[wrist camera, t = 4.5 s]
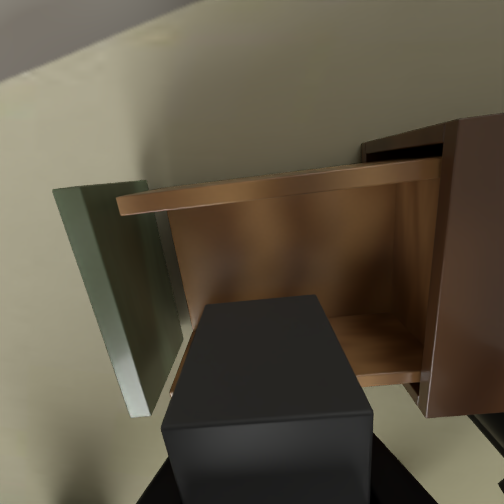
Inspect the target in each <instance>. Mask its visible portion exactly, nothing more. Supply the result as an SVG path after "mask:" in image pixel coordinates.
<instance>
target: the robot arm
mask: <svg viewBox="0 0 504 504" xmlns="http://www.w3.org/2000/svg"><path fill="white" fill-rule="evenodd" d="M467 416H468V417H469V418H470V419H471V420H472V421H473V423H474V424H475V425H476V426H477V427H478V428H479V430H480V431H481V432H482V433H483V434H484V435H485V437H486V438H487V439H488V440H489V441H490V442H491V443H492V445H493V446H494V447H495V448H496V449H497V450H498V452H499V453H500V454H501V455H502V456H503V457H504V412H500V413H487V414H474V415H467ZM498 485H499V487H500V488H501V490H502V492H503V493H504V479H503V480H501V481H500V482H499V483H498ZM136 504H182V500H181V497H180V493H179V490H178V487H177V483H176V480H175V476H174V473H173V469H172V466H171V463H170V459H169V456H168V458H167V459H166V461H165V462H164V463H163V465H162V466H161V468H160V469H159V471H158V472H157V474H156V475H155V477H154V478H153V480H152V481H151V482H150V484H149V485H148V487H147V488H146V490H145V491H144V493H143V494H142V496H141V497H140V498H139V500H138V501H137V503H136ZM370 504H438V503H437V502H436V501H435V500H434V499H433V497H432V496H431V495H430V494H429V493H428V492H427V491H426V490H425V489H424V488H423V486H422V485H421V484H420V483H419V482H418V481H417V480H416V479H415V478H414V477H413V476H412V474H411V473H410V472H409V471H408V470H407V469H406V468H405V467H404V466H403V465H402V464H401V462H400V461H399V460H398V459H397V458H396V457H395V456H394V455H393V454H392V453H391V451H390V450H389V449H388V448H387V447H386V446H385V445H384V444H383V443H382V442H381V441H380V439H379V438H378V437H377V436H376V435H375V434H374V433H373V438H372V461H371V485H370Z"/></svg>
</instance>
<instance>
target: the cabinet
mask: <svg viewBox="0 0 504 504" xmlns="http://www.w3.org/2000/svg"><path fill="white" fill-rule="evenodd" d="M432 155H442V164H441V174H440V185H439V195H438V205H437V215H436V225H435V236H434V246H433V256H432V266H431V277H430V287H429V297H428V307H427V317H426V328H425V338H424V348H423V358H422V369H421V379H420V382H416V383H404V384H403V386H404V387H405V389H406V390H407V392H408V393H409V394H410V396H411V397H412V399H413V400H414V402H415V403H416V405H417V406H418V407H419V409H420V410H421V412H422V413H423V415H424V416H425V418H436V417H449V416H461V415H474V414H487V413H500V412H504V113H498V114H490V115H483V116H475V117H467V118H460V119H456V120H452V121H448V122H444V123H440V124H436V125H432V126H428V127H424V128H420V129H416V130H412V131H408V132H404V133H400V134H396V135H392V136H388V137H384V138H380V139H376V140H372V141H368V142H365V143H362V154H361V163H366V162H374V161H382V160H390V159H398V158H408V157H420V156H432Z"/></svg>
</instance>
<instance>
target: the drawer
mask: <svg viewBox="0 0 504 504" xmlns="http://www.w3.org/2000/svg"><path fill="white" fill-rule="evenodd" d="M441 164H442V155H432V156H420V157H408V158H398V159H390V160H382V161H374V162H366V163H358V164H350V165H342V166H334V167H326V168H318V169H310V170H301V171H293V172H285V173H277V174H269V175H261V176H253V177H245V178H237V179H229V180H221V181H213V182H205V183H196V184H188V185H180V186H172V187H165V188H160V189H155V190H149V189H148V185H147V181H146V180H140V181H129V182H118V183H107V184H95V185H84V186H75V187H67V188H59V189H53V190H52V192H53V195H54V198H55V201H56V204H57V206H58V209H59V212H60V215H61V218H62V221H63V224H64V227H65V230H66V233H67V235H68V238H69V241H70V244H71V247H72V250H73V253H74V256H75V259H76V262H77V264H78V267H79V270H80V273H81V276H82V279H83V282H84V285H85V288H86V290H87V293H88V296H89V299H90V302H91V305H92V308H93V311H94V314H95V317H96V319H97V322H98V325H99V328H100V331H101V334H102V337H103V340H104V343H105V346H106V348H107V351H108V354H109V357H110V360H111V363H112V366H113V369H114V372H115V375H116V377H117V380H118V383H119V386H120V389H121V392H122V395H123V398H124V401H125V403H126V406H127V409H128V412H129V415H130V417H131V418H133V417H146V416H151V415H152V413H153V411H154V408H155V406H156V403H157V401H158V399H159V396H160V394H161V392H162V389H163V387H164V384H165V382H166V380H167V377H168V375H169V373H170V370H171V368H172V365H173V363H174V361H175V358H176V356H177V354H178V351H179V349H180V347H181V344H182V342H183V334H182V330H181V326H180V322H179V317H178V313H177V309H176V304H175V300H174V296H173V292H172V287H171V283H170V279H169V275H168V270H167V266H166V262H165V257H164V253H163V249H162V245H161V240H160V236H159V232H158V228H157V223H156V219H155V215H154V212H160V211H167V214H168V219H169V224H170V228H171V233H172V237H173V242H174V246H175V251H176V255H177V260H178V265H179V269H180V274H181V278H182V283H183V287H184V292H185V297H186V301H187V306H188V310H189V315H190V319H191V324H192V329H193V332H192V335H191V337H190V340H189V342H188V345H187V348H186V350H185V353H184V355H183V358H182V361H181V363H180V366H179V368H178V371H177V374H176V376H175V379H174V381H173V384H172V387H171V389H170V397H172V395H173V392H174V389H175V386H176V384H177V381H178V378H179V376H180V373H181V370H182V367H183V365H184V362H185V359H186V356H187V354H188V351H189V348H190V346H191V343H192V340H193V337H194V335H195V332H196V329H197V326H198V324H199V321H200V318H201V316H202V313H203V310H204V307H205V305H207V304H216V303H227V302H237V301H248V300H259V299H269V298H280V297H291V296H301V295H312V294H315V295H316V296H317V298H318V300H319V302H320V304H321V306H322V308H323V310H324V312H325V314H326V316H327V318H328V320H329V322H330V324H331V326H332V328H333V330H334V332H335V334H336V336H337V338H338V340H339V343H340V345H341V347H342V349H343V351H344V353H345V355H346V357H347V359H348V361H349V363H350V365H351V367H352V369H353V371H354V373H355V375H356V377H357V379H358V381H359V383H360V385H361V387H368V386H380V385H392V384H404V383H416V382H420V379H421V369H422V358H423V348H424V338H425V328H426V317H427V307H428V297H429V287H430V277H431V266H432V256H433V246H434V236H435V225H436V215H437V205H438V195H439V185H440V174H441Z"/></svg>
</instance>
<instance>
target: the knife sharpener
mask: <svg viewBox="0 0 504 504" xmlns="http://www.w3.org/2000/svg"><path fill="white" fill-rule="evenodd" d="M161 432H162V435H163V439H164V442H165V446H166V449H167V452H168V456H169V459H170V463H171V466H172V469H173V473H174V476H175V480H176V483H177V487H178V490H179V493H180V497H181V500H182V504H370V485H371V461H372V438H373V410H372V408H371V406H370V404H369V402H368V400H367V398H366V396H365V393H364V391H363V389H362V387H361V385H360V383H359V381H358V379H357V377H356V375H355V373H354V371H353V369H352V367H351V365H350V363H349V361H348V359H347V357H346V355H345V353H344V351H343V349H342V347H341V345H340V343H339V340H338V338H337V336H336V334H335V332H334V330H333V328H332V326H331V324H330V322H329V320H328V318H327V316H326V314H325V312H324V310H323V308H322V306H321V304H320V302H319V300H318V298H317V296H316V295H315V294H312V295H301V296H291V297H280V298H269V299H259V300H248V301H237V302H227V303H216V304H207V305H205V307H204V310H203V313H202V316H201V318H200V321H199V324H198V326H197V329H196V332H195V335H194V337H193V340H192V343H191V346H190V348H189V351H188V354H187V356H186V359H185V362H184V365H183V367H182V370H181V373H180V376H179V378H178V381H177V384H176V386H175V389H174V392H173V395H172V397H171V400H170V403H169V406H168V408H167V411H166V414H165V417H164V419H163V422H162V425H161Z"/></svg>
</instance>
